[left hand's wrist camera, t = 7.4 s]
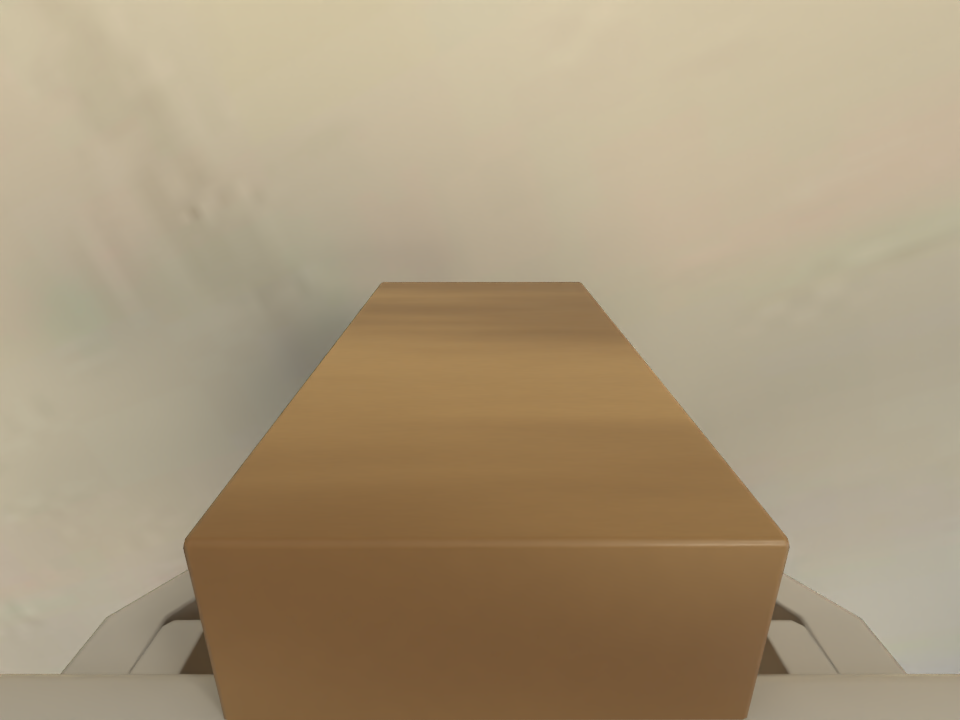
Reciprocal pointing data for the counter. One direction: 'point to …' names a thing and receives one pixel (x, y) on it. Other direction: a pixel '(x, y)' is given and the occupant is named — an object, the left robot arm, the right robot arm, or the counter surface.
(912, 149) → the counter surface
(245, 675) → the bar
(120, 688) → the left robot arm
